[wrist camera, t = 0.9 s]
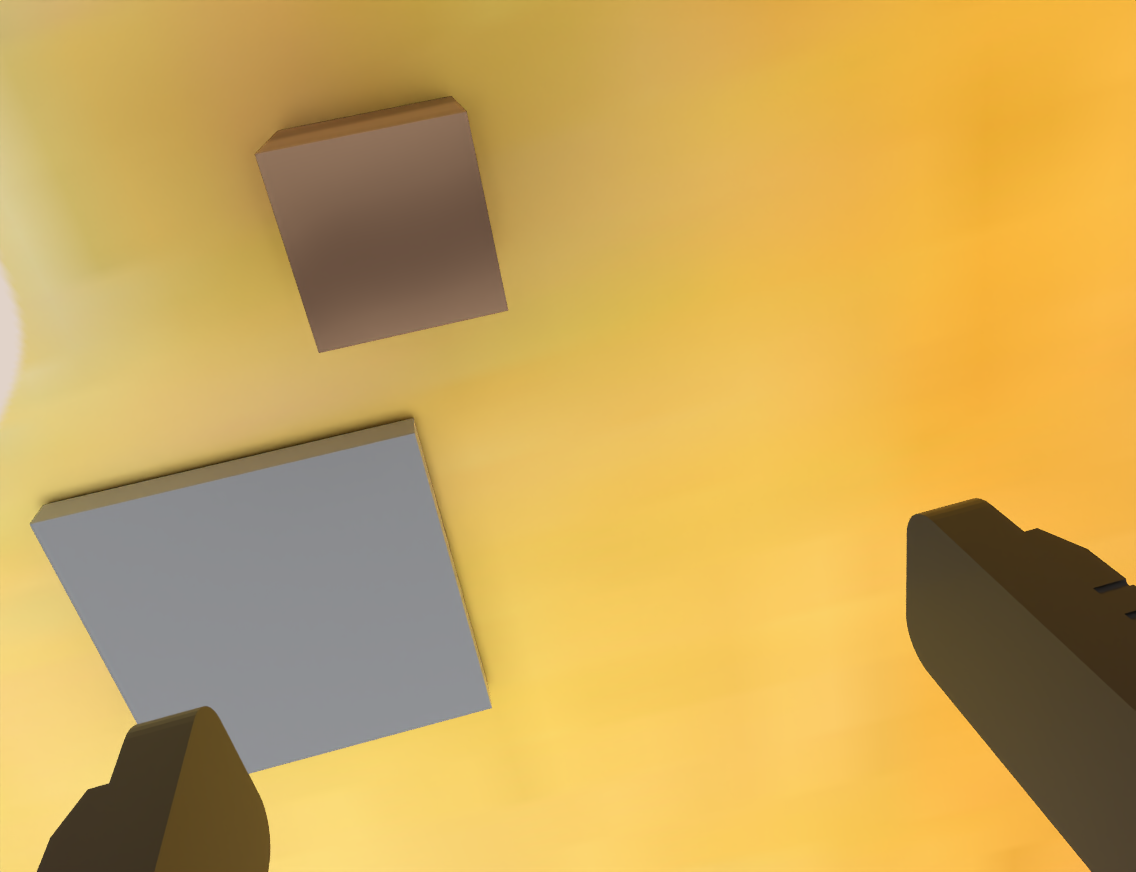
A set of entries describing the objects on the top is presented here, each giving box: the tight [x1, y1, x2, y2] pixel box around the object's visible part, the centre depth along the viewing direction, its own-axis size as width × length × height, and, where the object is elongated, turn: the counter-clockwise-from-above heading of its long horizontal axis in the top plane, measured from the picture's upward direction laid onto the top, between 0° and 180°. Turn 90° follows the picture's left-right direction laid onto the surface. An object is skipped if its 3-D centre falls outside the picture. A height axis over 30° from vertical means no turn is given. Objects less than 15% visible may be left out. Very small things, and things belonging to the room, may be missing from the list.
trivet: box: [30, 418, 492, 774], centre depth 30 cm, size 12×12×1 cm
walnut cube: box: [255, 96, 508, 353], centre depth 24 cm, size 5×5×5 cm
